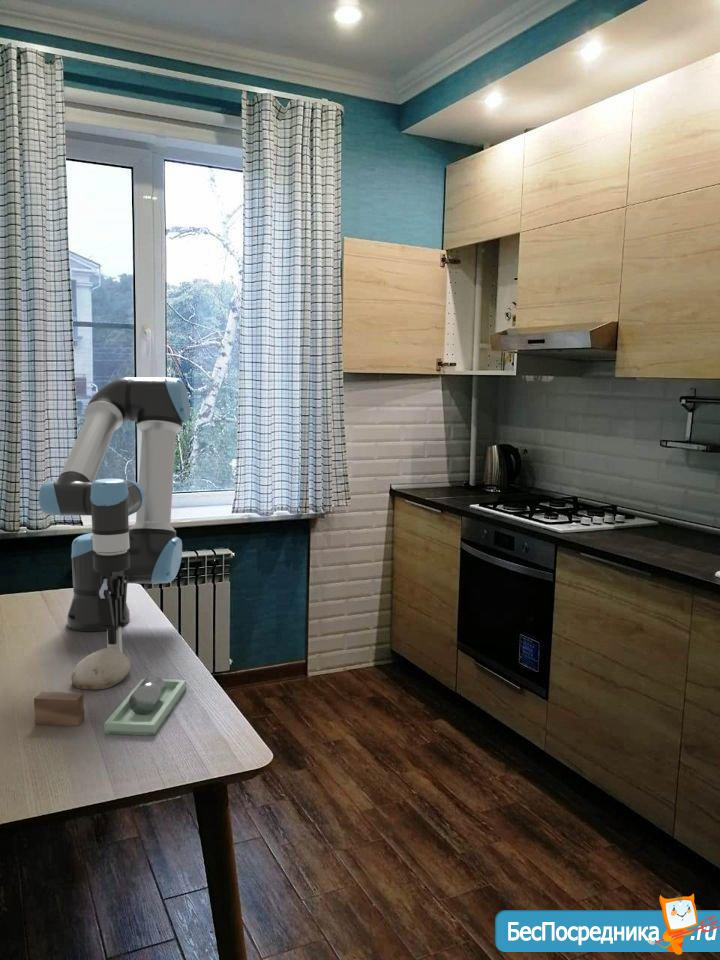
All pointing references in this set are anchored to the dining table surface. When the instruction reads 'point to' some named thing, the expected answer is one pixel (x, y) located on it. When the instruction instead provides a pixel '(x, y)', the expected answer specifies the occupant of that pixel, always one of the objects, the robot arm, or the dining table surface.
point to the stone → (101, 669)
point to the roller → (147, 695)
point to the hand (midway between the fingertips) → (115, 656)
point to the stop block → (59, 708)
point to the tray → (149, 723)
